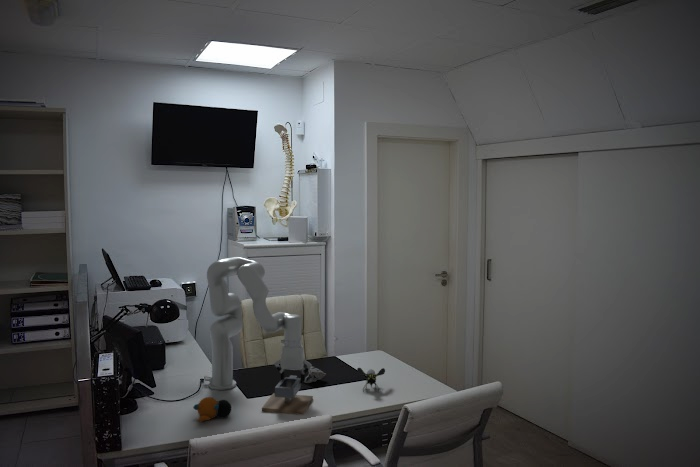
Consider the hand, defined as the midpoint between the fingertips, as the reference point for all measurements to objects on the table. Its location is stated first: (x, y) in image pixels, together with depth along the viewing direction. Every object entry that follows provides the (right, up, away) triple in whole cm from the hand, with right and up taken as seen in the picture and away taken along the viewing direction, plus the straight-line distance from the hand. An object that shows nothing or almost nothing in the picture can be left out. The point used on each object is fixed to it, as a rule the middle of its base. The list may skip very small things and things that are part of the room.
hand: (292, 381), depth 251 cm
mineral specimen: (+8, -6, +23) cm, 25 cm away
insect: (+35, -8, +13) cm, 38 cm away
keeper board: (-1, -8, -7) cm, 11 cm away
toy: (-31, -10, -22) cm, 39 cm away
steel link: (-1, -2, -6) cm, 7 cm away
